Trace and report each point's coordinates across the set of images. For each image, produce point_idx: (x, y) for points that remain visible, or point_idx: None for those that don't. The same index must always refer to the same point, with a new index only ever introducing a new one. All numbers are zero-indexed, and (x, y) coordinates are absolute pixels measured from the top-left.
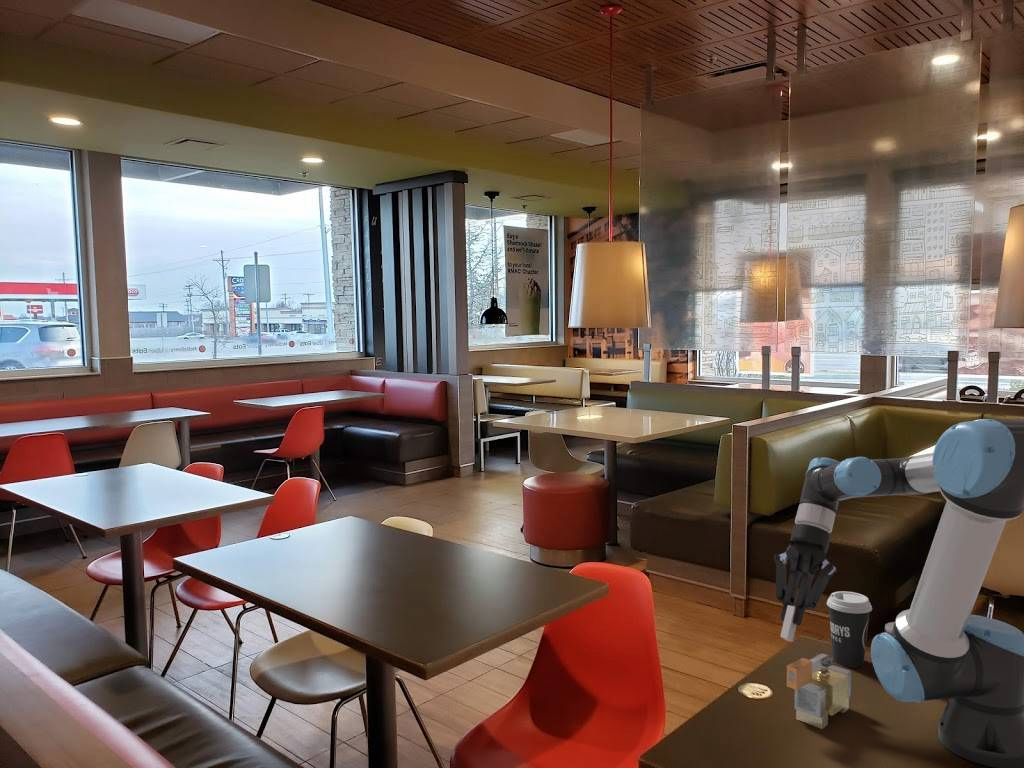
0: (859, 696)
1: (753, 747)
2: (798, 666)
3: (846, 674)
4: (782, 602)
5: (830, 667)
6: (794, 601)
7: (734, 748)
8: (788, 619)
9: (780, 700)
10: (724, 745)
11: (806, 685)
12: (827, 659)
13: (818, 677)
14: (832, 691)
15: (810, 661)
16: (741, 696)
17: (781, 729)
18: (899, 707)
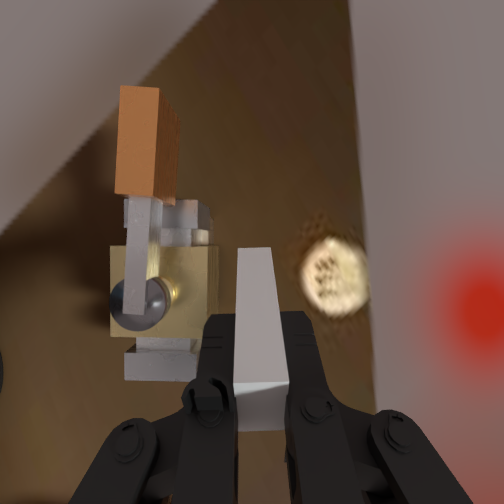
0: (169, 403)
1: (219, 58)
2: (127, 113)
3: (125, 352)
4: (345, 407)
5: (173, 362)
6: (289, 486)
7: (242, 28)
8: (254, 306)
9: (275, 272)
10: (261, 24)
11: (167, 207)
12: (119, 294)
13: (160, 266)
14: (119, 245)
15: (117, 185)
16: (342, 230)
17: (215, 161)
18: (94, 412)
